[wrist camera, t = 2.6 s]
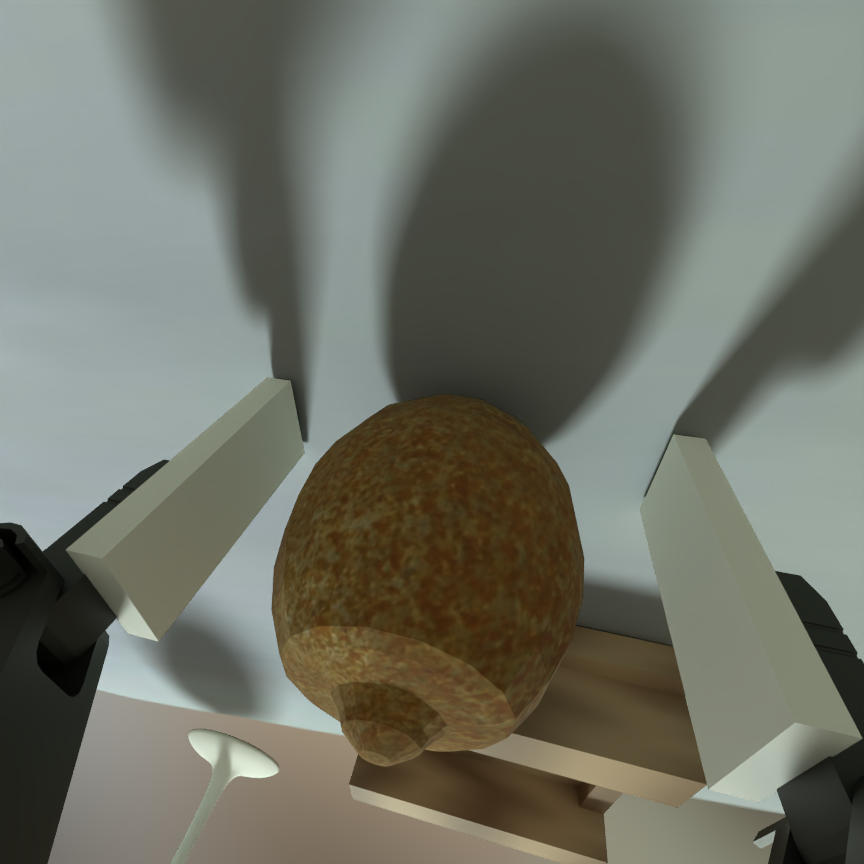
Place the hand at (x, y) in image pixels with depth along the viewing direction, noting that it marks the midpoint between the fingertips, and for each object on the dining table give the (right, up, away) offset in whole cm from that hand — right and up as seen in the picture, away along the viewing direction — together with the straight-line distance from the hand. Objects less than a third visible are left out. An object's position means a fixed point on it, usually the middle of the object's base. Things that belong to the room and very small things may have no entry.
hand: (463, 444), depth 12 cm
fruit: (0, 0, 0) cm, 0 cm away
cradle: (+2, -13, +9) cm, 16 cm away
